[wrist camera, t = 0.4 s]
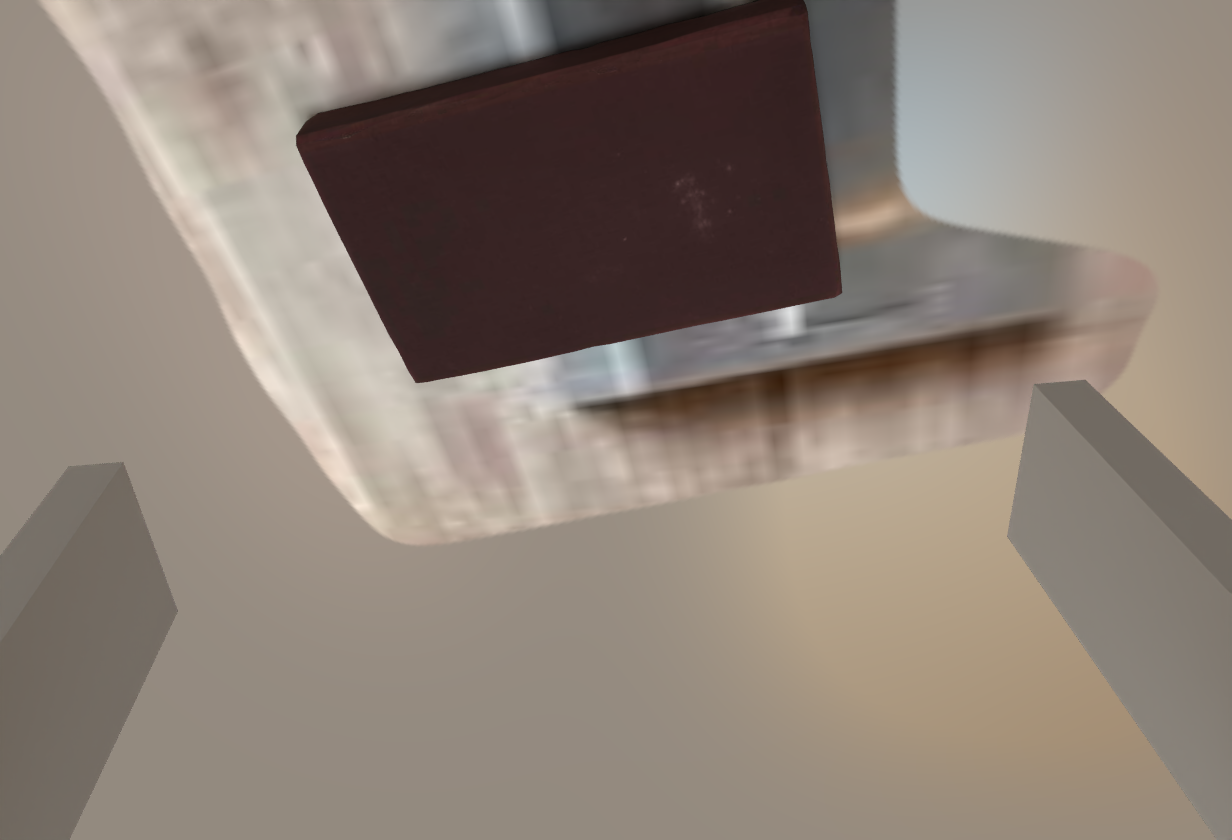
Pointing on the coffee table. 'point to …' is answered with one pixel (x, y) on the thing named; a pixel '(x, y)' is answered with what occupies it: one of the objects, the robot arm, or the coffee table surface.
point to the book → (588, 193)
